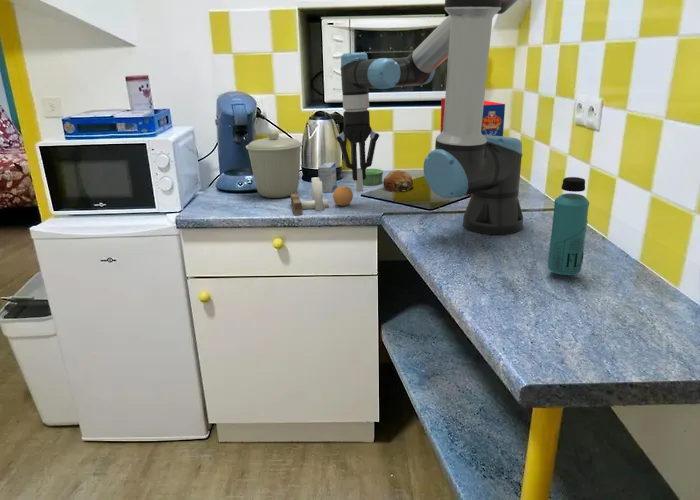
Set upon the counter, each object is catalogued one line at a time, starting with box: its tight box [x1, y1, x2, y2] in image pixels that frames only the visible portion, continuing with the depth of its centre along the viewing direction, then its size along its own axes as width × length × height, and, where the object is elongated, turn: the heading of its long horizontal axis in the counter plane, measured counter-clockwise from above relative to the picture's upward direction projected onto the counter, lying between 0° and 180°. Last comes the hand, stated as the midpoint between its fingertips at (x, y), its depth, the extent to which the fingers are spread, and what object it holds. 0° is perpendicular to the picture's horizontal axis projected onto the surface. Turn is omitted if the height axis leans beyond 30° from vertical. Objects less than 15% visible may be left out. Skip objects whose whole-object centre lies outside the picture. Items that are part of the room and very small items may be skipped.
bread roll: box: [382, 169, 414, 192], centre depth 178 cm, size 10×10×8 cm
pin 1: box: [310, 176, 320, 201], centre depth 160 cm, size 2×2×8 cm
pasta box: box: [439, 97, 506, 196], centre depth 172 cm, size 28×8×28 cm, turn 14°
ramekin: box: [363, 168, 384, 187], centre depth 187 cm, size 9×9×4 cm
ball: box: [332, 185, 354, 207], centre depth 160 cm, size 6×6×6 cm
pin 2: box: [314, 181, 324, 212], centre depth 156 cm, size 2×2×8 cm
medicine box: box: [317, 161, 338, 194], centre depth 178 cm, size 8×4×9 cm, turn 170°
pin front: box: [300, 198, 330, 210], centre depth 159 cm, size 2×2×8 cm
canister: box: [245, 129, 303, 199], centre depth 172 cm, size 18×18×21 cm
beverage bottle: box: [547, 176, 590, 276], centre depth 103 cm, size 6×7×20 cm
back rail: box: [290, 192, 303, 216], centre depth 158 cm, size 12×2×4 cm, turn 11°
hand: (359, 190), depth 160 cm, fingers closed
